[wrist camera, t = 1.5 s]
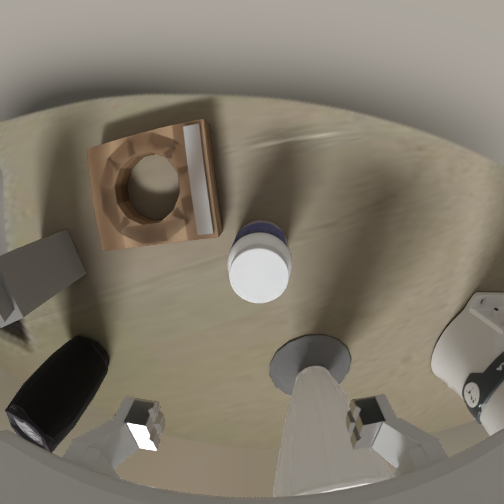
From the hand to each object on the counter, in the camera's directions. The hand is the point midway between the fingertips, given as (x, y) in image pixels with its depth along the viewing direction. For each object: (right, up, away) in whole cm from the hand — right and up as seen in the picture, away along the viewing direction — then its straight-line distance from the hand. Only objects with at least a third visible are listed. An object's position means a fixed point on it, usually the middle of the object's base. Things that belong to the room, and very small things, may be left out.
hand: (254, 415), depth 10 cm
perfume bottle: (-27, +6, +23) cm, 36 cm away
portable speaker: (-26, -10, +27) cm, 39 cm away
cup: (+8, -9, +26) cm, 28 cm away
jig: (-11, +14, +20) cm, 27 cm away
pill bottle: (+1, +8, +21) cm, 23 cm away
